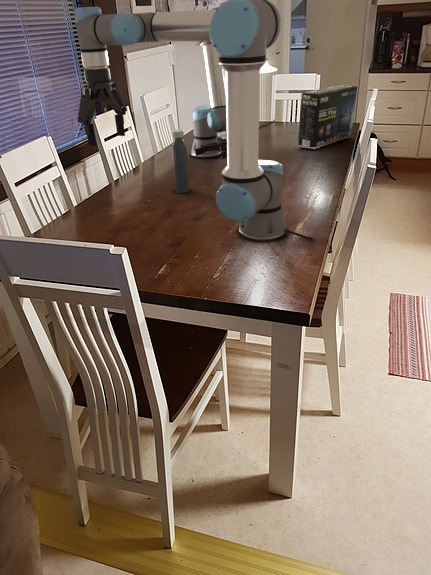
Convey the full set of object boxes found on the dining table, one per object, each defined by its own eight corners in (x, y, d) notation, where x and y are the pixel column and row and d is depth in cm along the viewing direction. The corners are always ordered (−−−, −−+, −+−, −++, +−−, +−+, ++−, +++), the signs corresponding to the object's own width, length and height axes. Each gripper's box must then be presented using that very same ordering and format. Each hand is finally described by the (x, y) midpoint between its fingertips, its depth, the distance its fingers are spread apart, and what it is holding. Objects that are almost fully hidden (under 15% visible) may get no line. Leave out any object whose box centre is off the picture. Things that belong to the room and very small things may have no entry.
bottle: (187, 193, 185) (183, 133, 173) (174, 193, 185) (168, 133, 173) (190, 188, 190) (186, 130, 178) (176, 188, 190) (172, 130, 178)
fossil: (236, 135, 249) (218, 118, 252) (226, 152, 256) (208, 135, 259) (252, 134, 263) (234, 118, 266) (242, 150, 269) (225, 134, 273)
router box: (314, 151, 231) (318, 94, 217) (296, 148, 237) (299, 92, 224) (352, 138, 251) (358, 85, 238) (335, 135, 258) (340, 83, 245)
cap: (182, 137, 174) (182, 132, 173) (171, 137, 175) (170, 132, 174) (184, 134, 178) (184, 129, 177) (173, 135, 178) (173, 129, 177)
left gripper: (260, 154, 203) (234, 166, 188) (213, 149, 216) (186, 159, 201) (260, 137, 199) (233, 147, 184) (213, 132, 212) (185, 142, 197)
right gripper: (114, 63, 147) (123, 131, 158) (55, 72, 129) (70, 148, 140) (132, 63, 144) (140, 132, 155) (75, 72, 126) (88, 150, 137)
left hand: (209, 153), depth 192 cm, fingers open, 13 cm apart
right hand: (107, 140), depth 148 cm, fingers open, 13 cm apart
